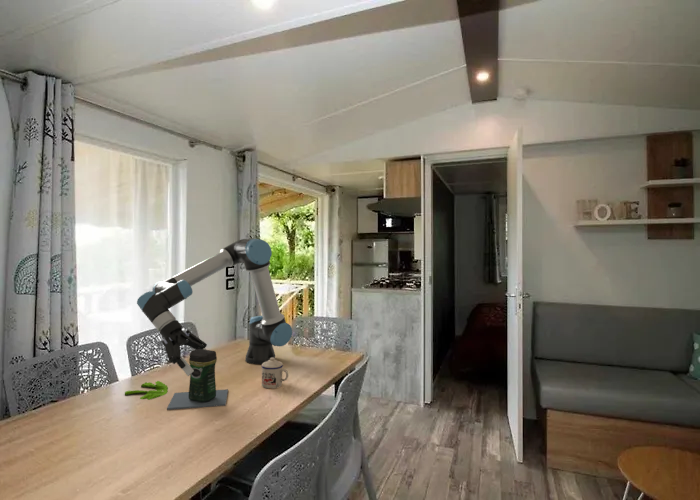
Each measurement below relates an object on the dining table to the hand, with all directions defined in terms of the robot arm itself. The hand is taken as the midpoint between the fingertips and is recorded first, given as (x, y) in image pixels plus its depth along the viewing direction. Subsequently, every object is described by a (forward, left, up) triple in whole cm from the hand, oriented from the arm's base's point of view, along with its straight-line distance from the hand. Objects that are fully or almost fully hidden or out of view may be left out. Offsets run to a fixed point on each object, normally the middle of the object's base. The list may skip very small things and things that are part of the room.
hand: (202, 368), depth 146 cm
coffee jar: (0, -1, -12) cm, 12 cm away
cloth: (+23, -16, -13) cm, 31 cm away
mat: (+1, -1, -12) cm, 13 cm away
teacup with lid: (-28, -11, -13) cm, 33 cm away
